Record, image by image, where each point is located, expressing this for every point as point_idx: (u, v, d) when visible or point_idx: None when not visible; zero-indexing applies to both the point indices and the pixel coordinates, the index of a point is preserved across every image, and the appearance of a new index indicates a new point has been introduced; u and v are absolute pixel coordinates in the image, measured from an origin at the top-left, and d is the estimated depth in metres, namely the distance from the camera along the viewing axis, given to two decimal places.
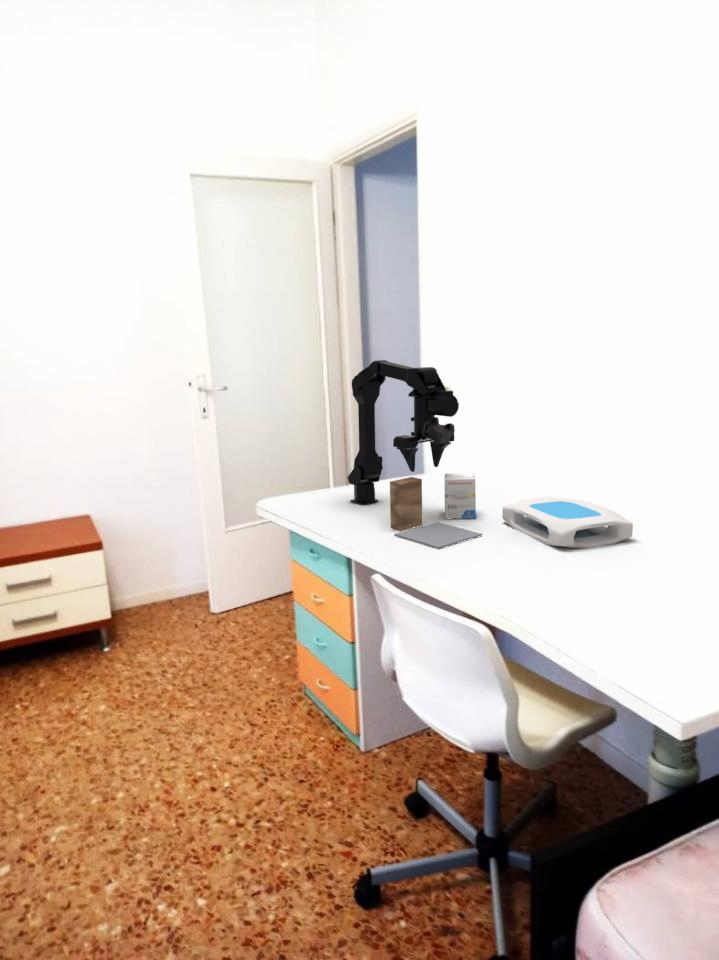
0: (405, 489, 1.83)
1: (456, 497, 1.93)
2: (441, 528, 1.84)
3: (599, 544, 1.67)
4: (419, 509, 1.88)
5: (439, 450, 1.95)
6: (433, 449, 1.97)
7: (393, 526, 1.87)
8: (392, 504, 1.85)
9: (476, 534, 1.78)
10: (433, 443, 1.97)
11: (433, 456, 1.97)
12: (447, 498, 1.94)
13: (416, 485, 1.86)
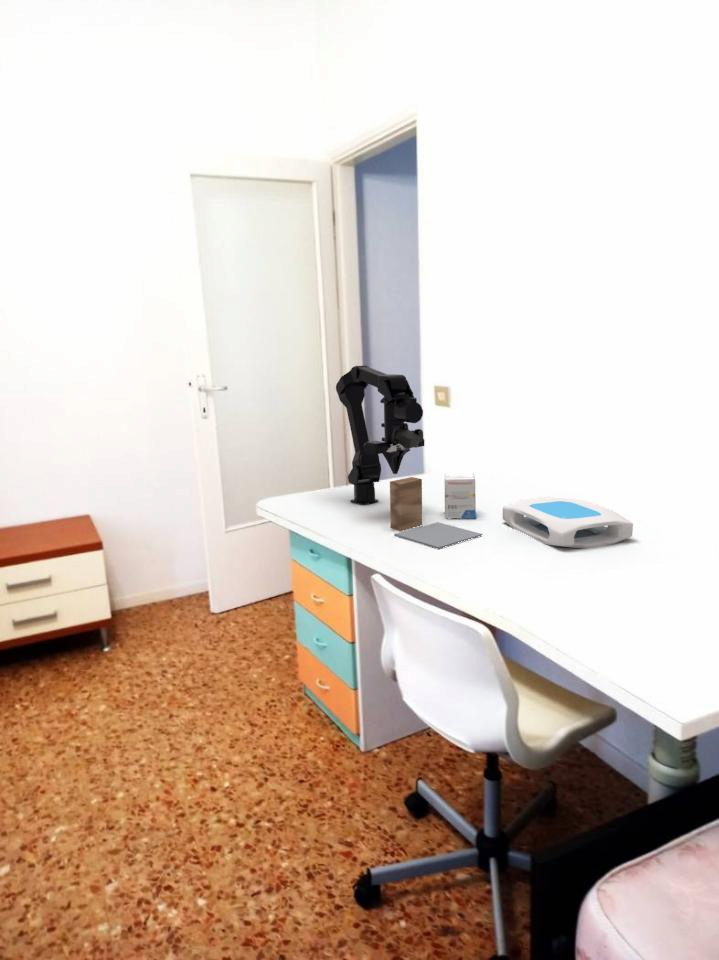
0: (405, 489, 1.83)
1: (456, 497, 1.93)
2: (441, 528, 1.84)
3: (599, 544, 1.67)
4: (419, 509, 1.88)
5: (398, 457, 1.98)
6: None
7: (393, 526, 1.87)
8: (392, 504, 1.85)
9: (476, 534, 1.78)
10: None
11: None
12: (447, 498, 1.94)
13: (416, 485, 1.86)
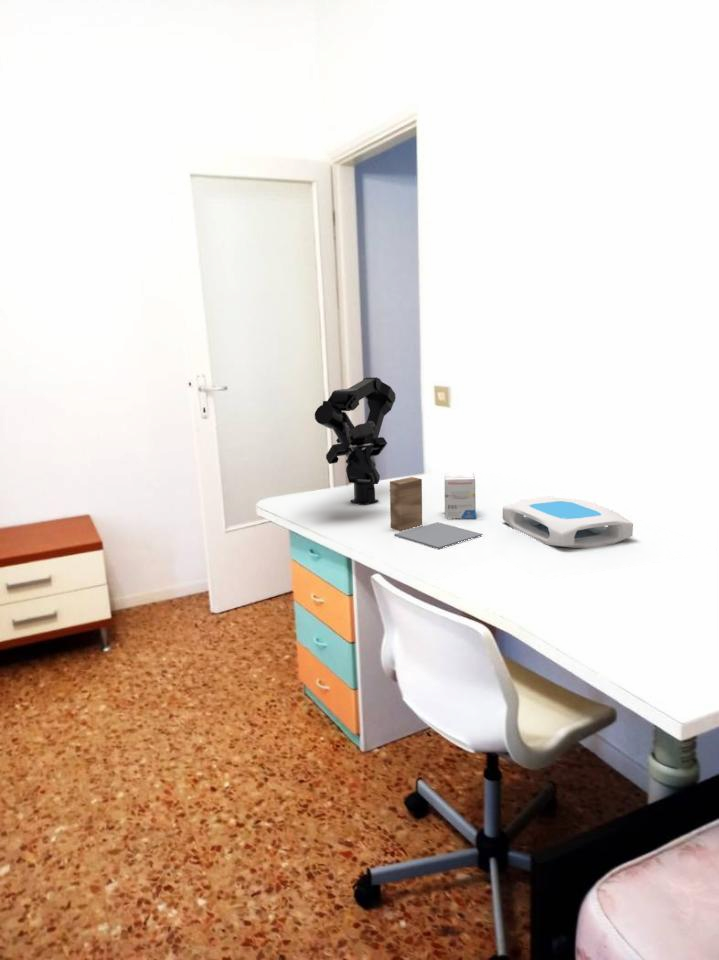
0: (405, 489, 1.83)
1: (456, 497, 1.93)
2: (441, 528, 1.84)
3: (599, 544, 1.67)
4: (419, 509, 1.88)
5: (365, 457, 1.94)
6: None
7: (393, 526, 1.87)
8: (392, 504, 1.85)
9: (476, 534, 1.78)
10: None
11: None
12: (447, 498, 1.94)
13: (416, 485, 1.86)
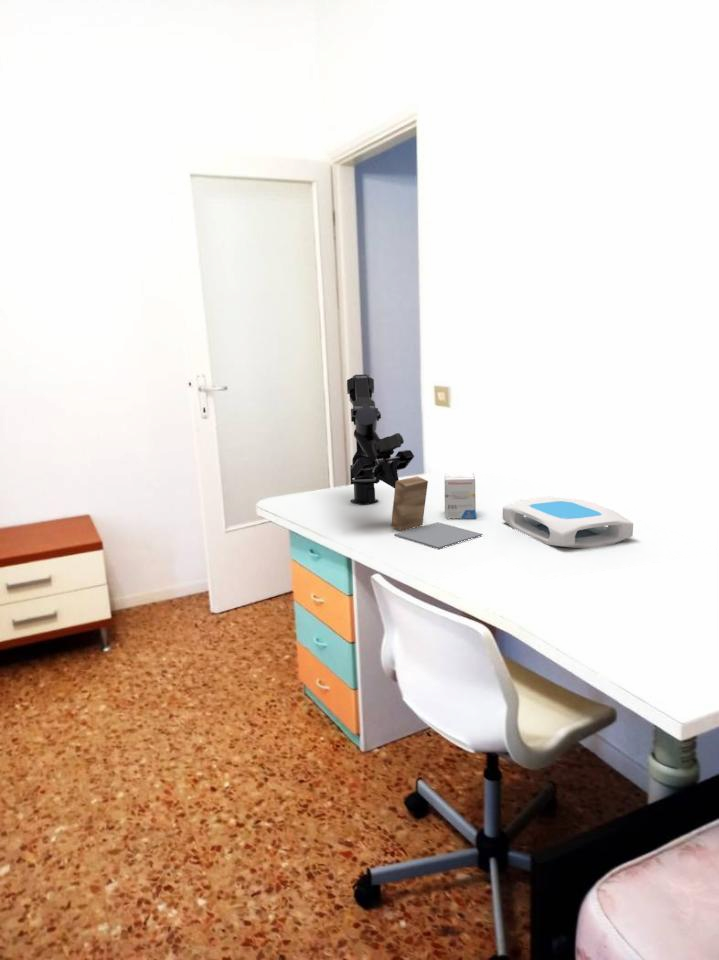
0: (410, 491, 1.82)
1: (456, 497, 1.93)
2: (441, 528, 1.84)
3: (600, 544, 1.67)
4: (421, 510, 1.87)
5: (392, 471, 1.86)
6: None
7: (393, 524, 1.86)
8: (395, 503, 1.84)
9: (476, 534, 1.78)
10: None
11: None
12: (447, 498, 1.94)
13: (421, 487, 1.84)
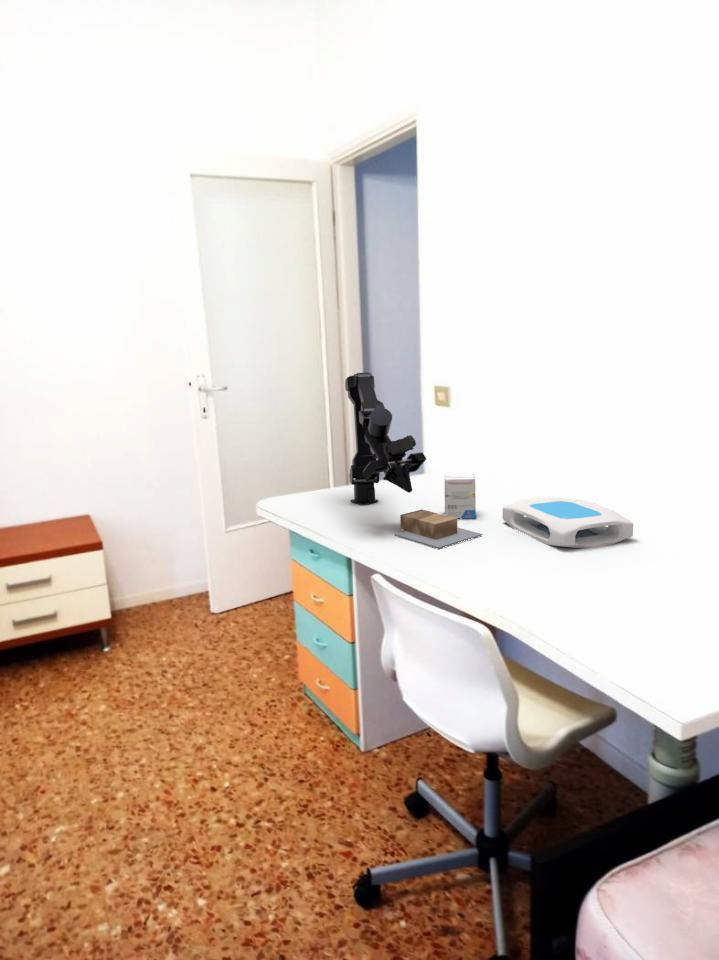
0: None
1: (456, 497, 1.93)
2: None
3: (600, 544, 1.67)
4: None
5: (404, 474, 1.83)
6: None
7: (402, 519, 1.83)
8: (418, 523, 1.79)
9: (476, 534, 1.78)
10: None
11: None
12: (447, 498, 1.94)
13: None
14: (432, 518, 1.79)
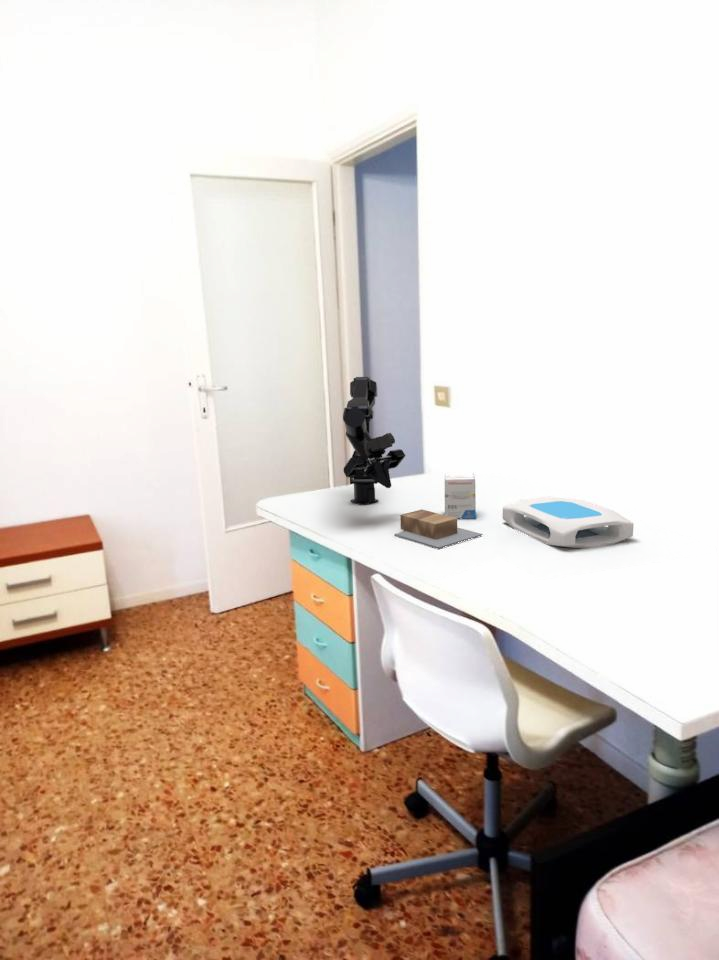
0: None
1: (456, 497, 1.93)
2: None
3: (600, 544, 1.67)
4: None
5: (384, 470, 1.89)
6: None
7: (402, 519, 1.83)
8: (418, 523, 1.79)
9: (476, 534, 1.78)
10: None
11: None
12: (447, 498, 1.94)
13: None
14: (432, 518, 1.79)
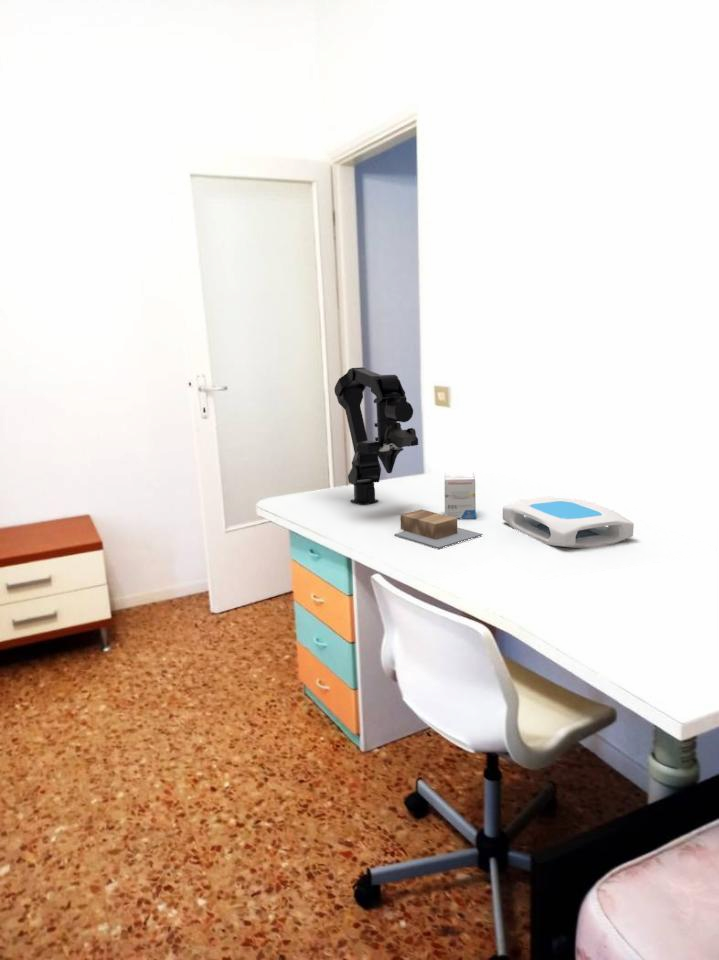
0: None
1: (456, 497, 1.93)
2: None
3: (600, 544, 1.67)
4: None
5: (392, 456, 1.99)
6: None
7: (402, 519, 1.83)
8: (418, 523, 1.79)
9: (476, 534, 1.78)
10: None
11: None
12: (447, 498, 1.94)
13: None
14: (432, 518, 1.79)
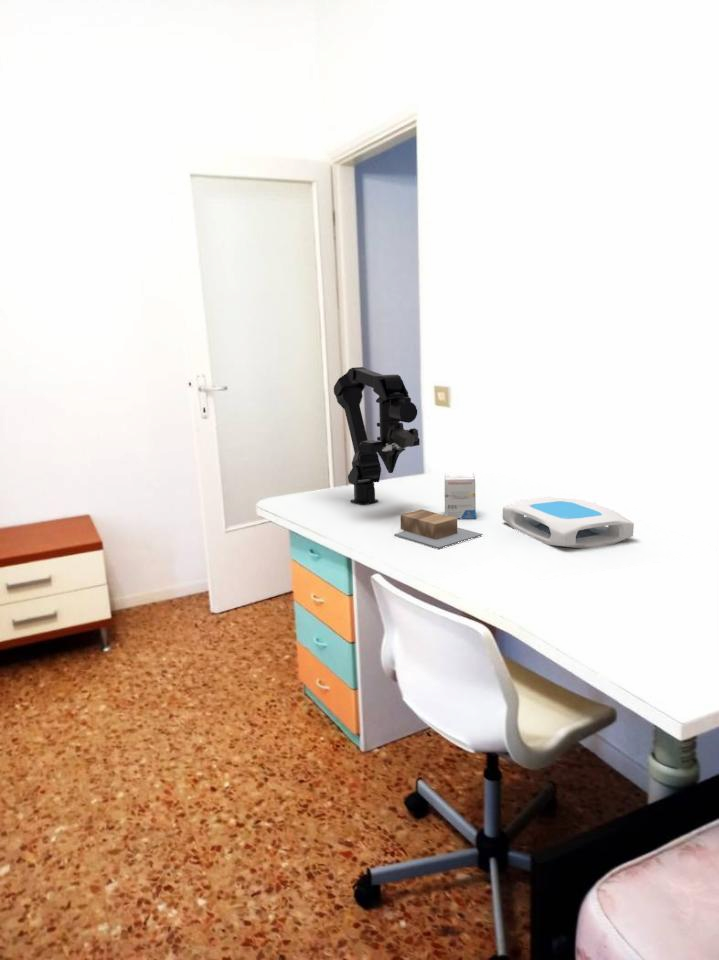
0: None
1: (456, 497, 1.93)
2: None
3: (600, 544, 1.67)
4: None
5: (394, 456, 1.99)
6: None
7: (402, 519, 1.83)
8: (418, 523, 1.79)
9: (476, 534, 1.78)
10: None
11: None
12: (447, 498, 1.94)
13: None
14: (432, 518, 1.79)
